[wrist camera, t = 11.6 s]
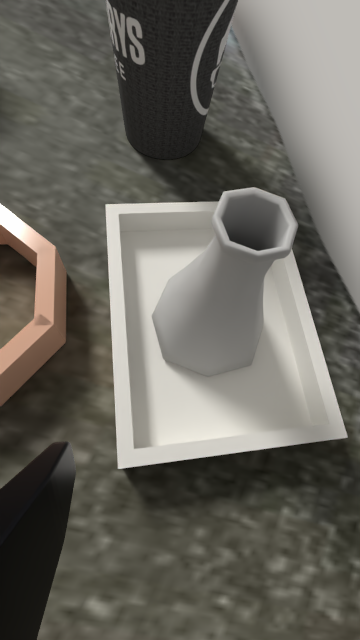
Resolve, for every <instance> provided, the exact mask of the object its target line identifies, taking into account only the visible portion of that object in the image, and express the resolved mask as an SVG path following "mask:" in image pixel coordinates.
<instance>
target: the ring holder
mask: <svg viewBox="0 0 360 640" xmlns="http://www.w3.org/2000/svg"><path fill="white" fill-rule="evenodd" d="M0 244H8V245H10V246H11V247H12V248H13V249H15V250H16V251H17V252H18V253H20V254H21V255H22V256H23V257H24V258H26V259H27V260H28V261H29V262H31V263H32V264H33V265H34V266H36V267H37V272H36V293H35V314H34V319H33V320H32V321H31V322H30V323H29V324H28V325H27V326H26V327H25V328H24V329H22V330H21V331H20V332H19V333H18V334H17V335H16V336H15V337H14V338H13V339H11V340H10V341H9V342H8V343H7V344H6V345H5V346H4V347H3V348H2V349H0V406H2V405H3V404H4V403H5V402H6V401H7V400H8V399H9V398H10V397H11V396H12V395H13V394H14V393H15V392H16V391H17V390H18V389H19V388H20V387H21V386H22V385H23V384H24V383H25V382H26V381H27V380H28V379H29V378H30V377H31V376H32V375H33V374H34V373H35V372H36V371H37V370H38V369H39V368H40V367H41V366H42V365H43V364H44V363H45V362H46V361H47V360H48V359H49V358H50V357H51V356H52V355H53V354H54V353H56V352H57V351H58V350H59V349H60V348H61V347H62V346H63V345H64V344H65V343H66V284H67V272H66V270H65V268H64V265H63V263H62V261H61V258H60V256H59V254H58V251H57V249H56V247H55V246H54V245H52V244H51V243H50V242H49V241H47V240H46V239H45V238H44V237H42V236H41V235H40V234H38V233H37V232H36V231H35V230H33V229H32V228H31V227H29V226H28V225H27V224H26V223H24V222H23V221H22V220H20V219H19V218H18V217H17V216H15V215H14V214H13V213H11V212H10V211H9V210H8V209H6V208H5V207H4V206H2V205H1V204H0Z"/></svg>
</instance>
